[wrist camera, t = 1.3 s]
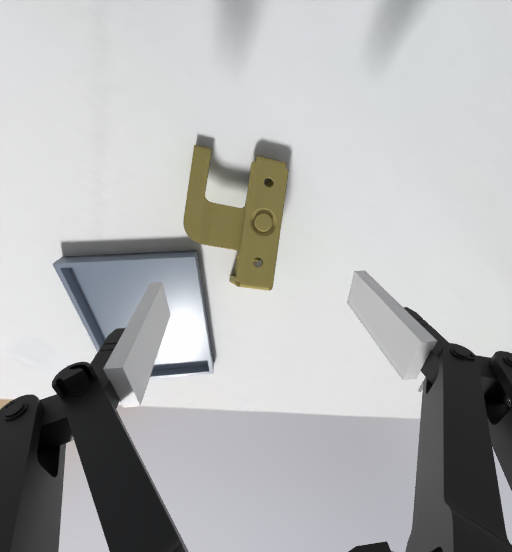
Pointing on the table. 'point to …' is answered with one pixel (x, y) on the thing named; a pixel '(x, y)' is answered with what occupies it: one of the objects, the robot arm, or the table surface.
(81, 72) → the table surface
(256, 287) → the bracket
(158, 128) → the table surface
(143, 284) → the tray
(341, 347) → the table surface
